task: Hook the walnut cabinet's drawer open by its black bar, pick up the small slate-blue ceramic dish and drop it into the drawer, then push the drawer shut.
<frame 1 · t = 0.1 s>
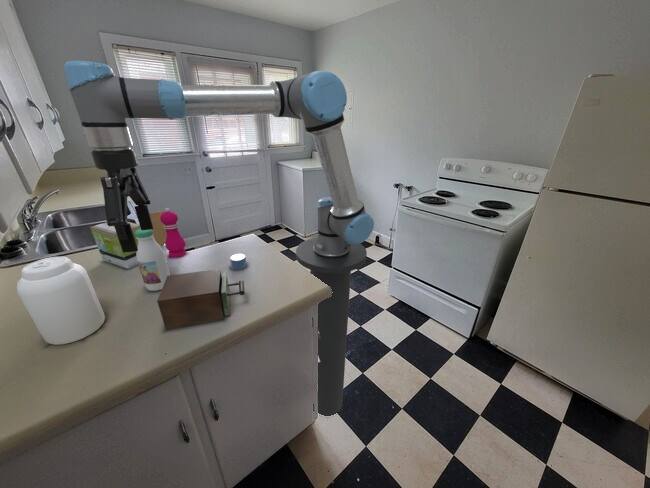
hand: (139, 239, 66), 24 cm above the countertop, tool pointing down, fingers open, 13 cm apart
white plastic jar: (77, 329, 72), on the countertop
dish: (239, 266, 103), on the countertop
cabinet: (198, 310, 79), on the countertop
tea box: (127, 260, 107), on the countertop
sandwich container: (162, 238, 126), on the countertop
milk bottle: (159, 285, 91), on the countertop
drawer: (212, 294, 79), point 5 cm above the countertop, slide at 0.5 cm
pepper mill: (178, 254, 112), on the countertop
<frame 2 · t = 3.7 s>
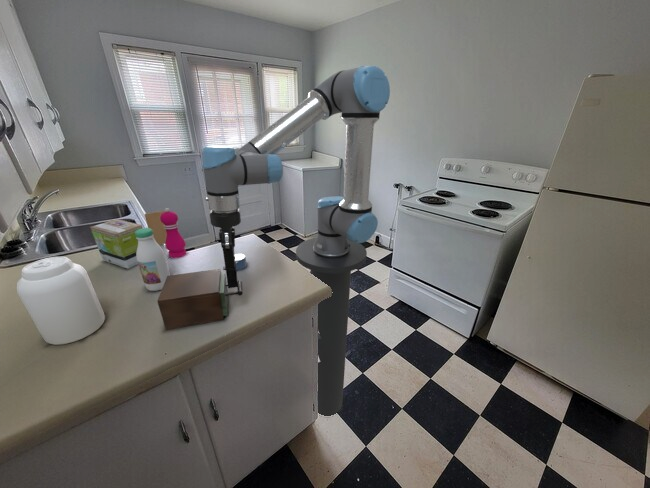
hand: (232, 286, 79), 7 cm above the countertop, tool pointing down, fingers closed
drawer: (210, 295, 78), point 5 cm above the countertop, slide at 0.0 cm, touching cabinet, gripper
everything else where it was.
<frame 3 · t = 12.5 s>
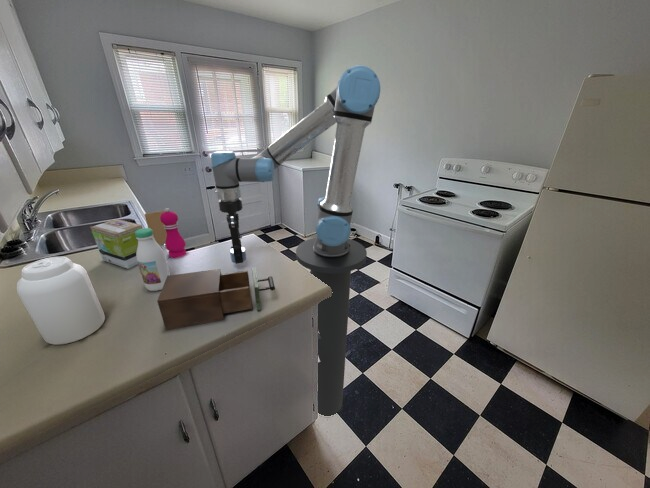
hand: (239, 258, 102), 3 cm above the countertop, tool pointing down, fingers closed on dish, 6 cm apart
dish: (239, 259, 102), point 3 cm above the countertop, touching gripper
drawer: (243, 290, 81), point 5 cm above the countertop, slide at 9.3 cm
everything else where it was.
when the fingers open (8 cm above the countertop, at t = 19.3 s): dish stays where it is, resting on drawer.
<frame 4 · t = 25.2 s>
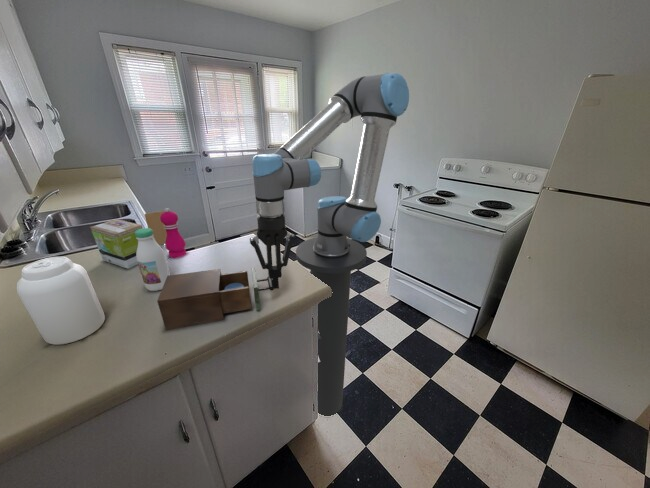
hand: (275, 286, 84), 4 cm above the countertop, tool pointing down, fingers closed
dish: (235, 299, 82), point 2 cm above the countertop, touching drawer
drawer: (242, 290, 81), point 5 cm above the countertop, slide at 9.1 cm, touching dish
everything else where it was.
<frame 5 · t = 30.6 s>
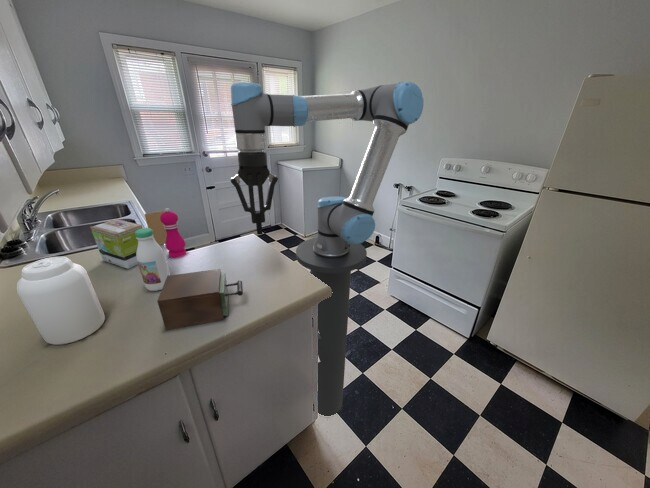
hand: (259, 232, 81), 20 cm above the countertop, tool pointing down, fingers closed
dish: (203, 304, 79), point 2 cm above the countertop, touching drawer
drawer: (210, 295, 78), point 5 cm above the countertop, slide at 0.0 cm, touching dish
everything else where it was.
at the end: drawer pulled out 10.0 cm at the most during the clip, back to where it started at the end; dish inside the target area in the cabinet (1.3 cm from its centre), point 2.0 cm above the cabinet's base; drawer slide at 0.0 cm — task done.
